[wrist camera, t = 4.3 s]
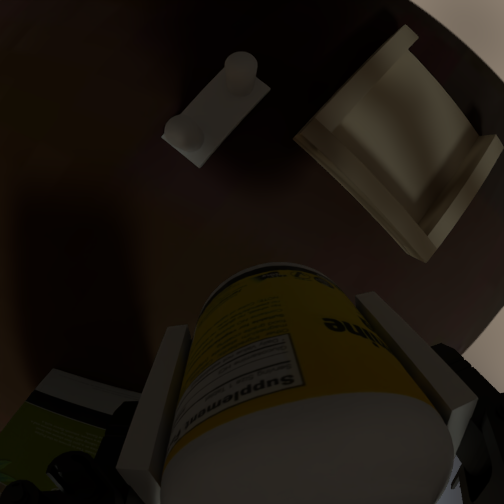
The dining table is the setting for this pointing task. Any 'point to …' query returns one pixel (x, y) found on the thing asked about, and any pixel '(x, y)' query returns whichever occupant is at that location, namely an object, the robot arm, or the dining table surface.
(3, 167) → the dining table surface
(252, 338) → the pill bottle
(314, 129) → the square tray
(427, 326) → the dining table surface
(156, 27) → the dining table surface
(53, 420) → the tea box
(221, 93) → the clip
